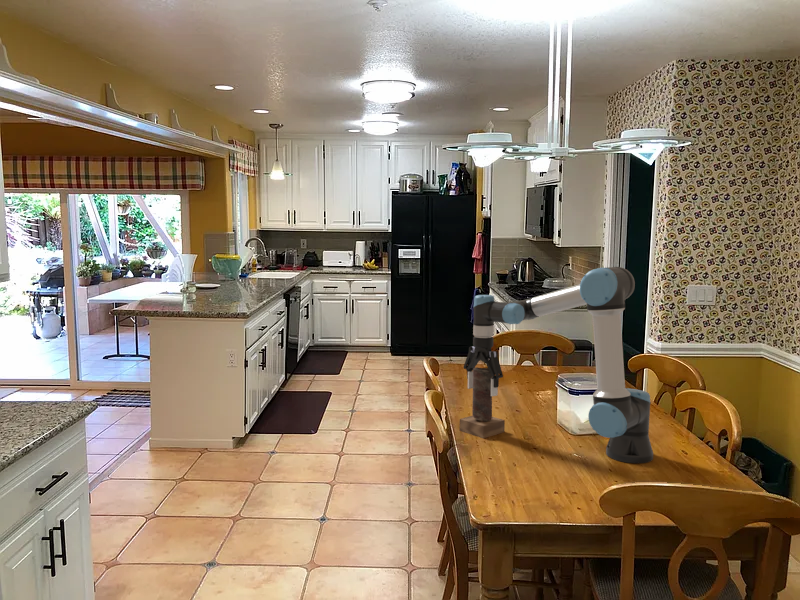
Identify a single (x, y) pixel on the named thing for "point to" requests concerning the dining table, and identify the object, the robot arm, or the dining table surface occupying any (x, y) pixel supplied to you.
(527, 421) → the dining table surface
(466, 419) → the walnut block
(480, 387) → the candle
